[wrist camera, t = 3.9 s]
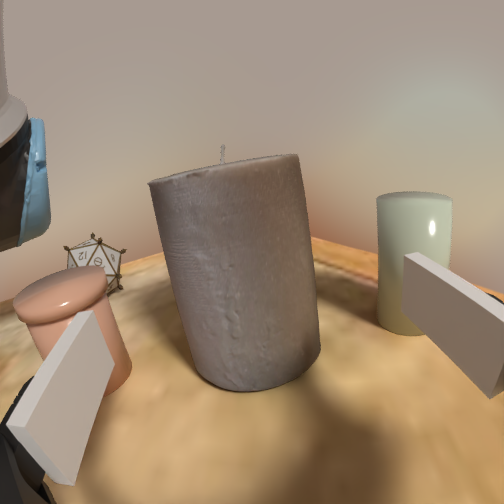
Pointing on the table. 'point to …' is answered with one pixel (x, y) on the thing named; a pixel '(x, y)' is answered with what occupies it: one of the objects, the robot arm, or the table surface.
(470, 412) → the table surface
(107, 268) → the game die
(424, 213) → the pale green cylinder
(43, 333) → the peach round-topped cylinder
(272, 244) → the pillar candle
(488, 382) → the robot arm
